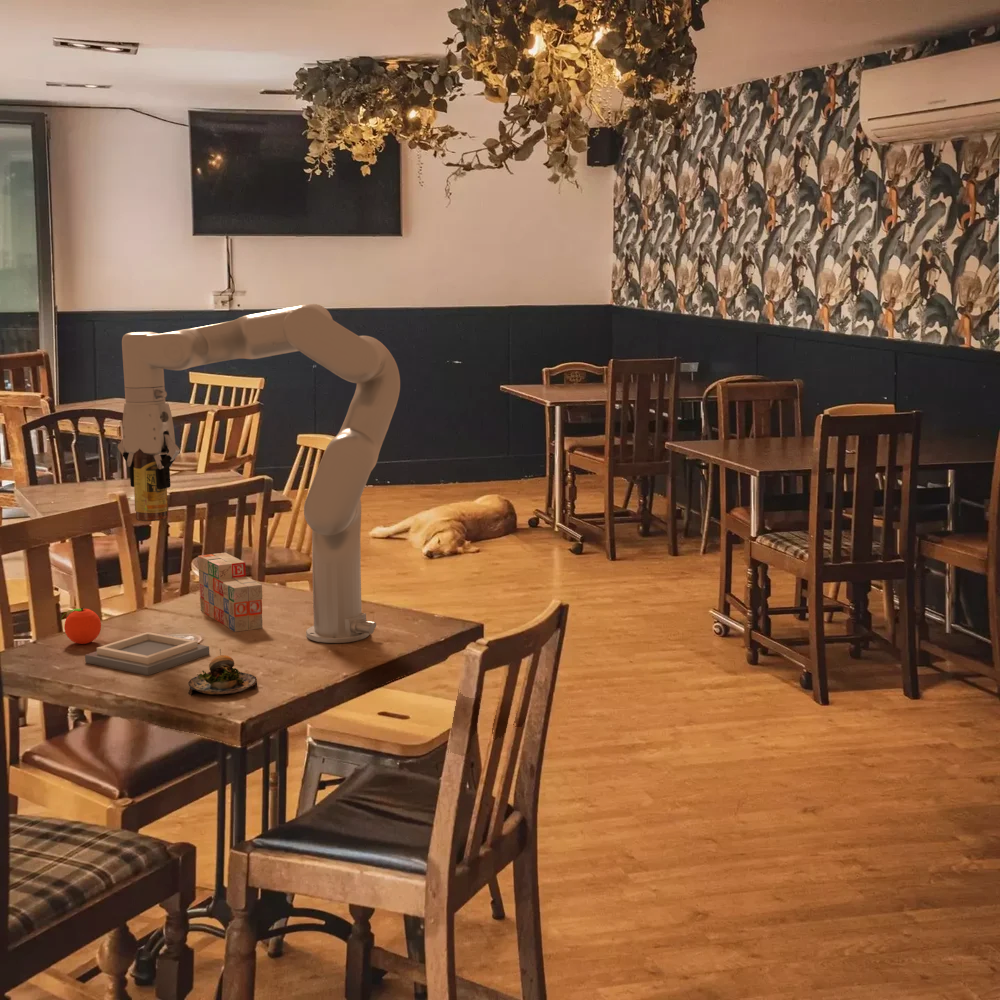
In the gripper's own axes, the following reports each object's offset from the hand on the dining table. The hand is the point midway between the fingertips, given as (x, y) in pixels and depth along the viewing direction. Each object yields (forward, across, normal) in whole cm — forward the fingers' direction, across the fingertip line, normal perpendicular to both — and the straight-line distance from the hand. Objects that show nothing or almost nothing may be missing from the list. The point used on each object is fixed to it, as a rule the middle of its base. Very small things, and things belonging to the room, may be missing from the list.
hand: (150, 486), depth 267 cm
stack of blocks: (+31, -4, -17) cm, 35 cm away
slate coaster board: (+30, -10, +13) cm, 35 cm away
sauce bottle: (+7, 0, 0) cm, 7 cm away
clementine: (+30, +9, +12) cm, 34 cm away
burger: (+31, -35, +20) cm, 51 cm away
